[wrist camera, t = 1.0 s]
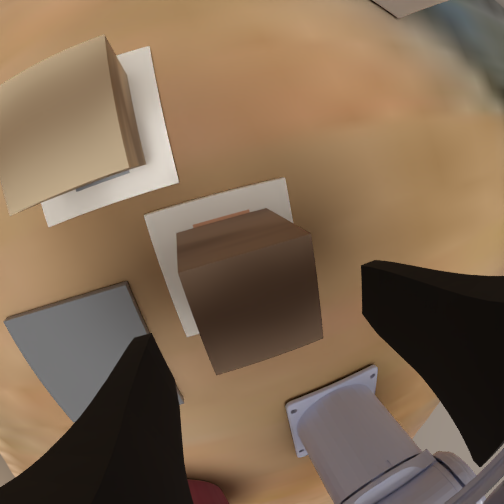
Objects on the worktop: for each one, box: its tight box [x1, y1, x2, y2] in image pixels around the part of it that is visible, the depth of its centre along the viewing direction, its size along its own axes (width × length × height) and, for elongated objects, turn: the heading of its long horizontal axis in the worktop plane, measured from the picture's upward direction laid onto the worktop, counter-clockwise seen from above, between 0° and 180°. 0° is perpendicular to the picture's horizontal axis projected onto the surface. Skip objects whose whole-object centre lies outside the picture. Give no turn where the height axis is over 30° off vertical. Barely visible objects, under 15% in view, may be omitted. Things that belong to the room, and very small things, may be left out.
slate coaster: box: [4, 281, 184, 422], centre depth 15 cm, size 9×9×1 cm
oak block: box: [0, 35, 146, 216], centre depth 9 cm, size 4×4×5 cm
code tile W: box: [144, 177, 293, 337], centre depth 15 cm, size 7×7×1 cm
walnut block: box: [176, 208, 323, 375], centre depth 12 cm, size 4×4×5 cm
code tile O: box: [41, 46, 179, 227], centre depth 11 cm, size 7×7×1 cm
